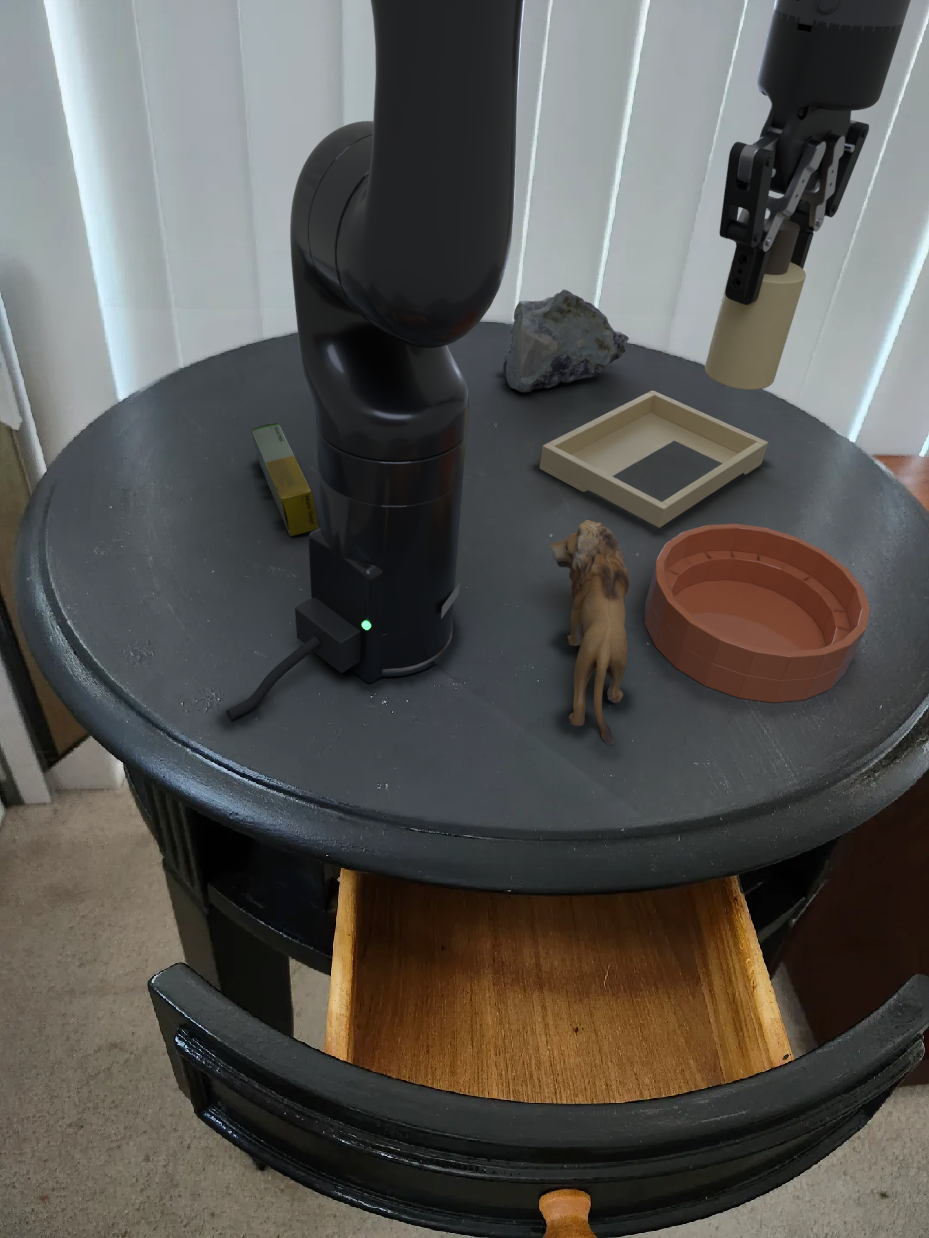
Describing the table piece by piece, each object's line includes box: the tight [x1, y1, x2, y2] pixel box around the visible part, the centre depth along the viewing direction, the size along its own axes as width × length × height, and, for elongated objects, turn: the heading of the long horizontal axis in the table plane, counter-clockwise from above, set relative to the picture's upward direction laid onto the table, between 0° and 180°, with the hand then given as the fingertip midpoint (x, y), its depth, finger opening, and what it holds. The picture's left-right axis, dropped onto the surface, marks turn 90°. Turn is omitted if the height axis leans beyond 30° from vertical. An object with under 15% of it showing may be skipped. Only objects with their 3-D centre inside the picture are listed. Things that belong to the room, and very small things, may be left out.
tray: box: [538, 389, 769, 528], centre depth 87 cm, size 18×14×2 cm
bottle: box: [704, 217, 807, 391], centre depth 66 cm, size 5×5×11 cm
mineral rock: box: [502, 288, 630, 393], centre depth 97 cm, size 13×11×10 cm
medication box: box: [250, 422, 320, 537], centre depth 79 cm, size 12×3×4 cm, turn 21°
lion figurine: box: [550, 519, 630, 746], centre depth 63 cm, size 15×5×9 cm, turn 6°
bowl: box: [644, 523, 871, 704], centre depth 69 cm, size 15×15×5 cm
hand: (761, 290), depth 66 cm, fingers closed on bottle, 5 cm apart
